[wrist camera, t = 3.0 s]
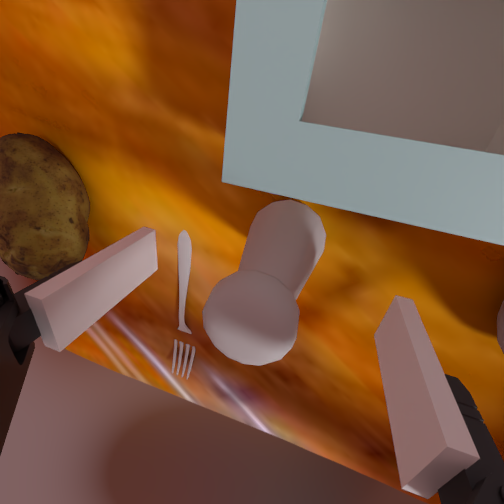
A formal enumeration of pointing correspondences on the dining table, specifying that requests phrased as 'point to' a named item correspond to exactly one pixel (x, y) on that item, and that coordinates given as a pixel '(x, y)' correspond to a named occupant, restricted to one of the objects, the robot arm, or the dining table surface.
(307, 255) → the salt shaker
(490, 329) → the dining table surface
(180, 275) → the fork
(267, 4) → the drop box
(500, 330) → the coffee pot
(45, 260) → the potato
